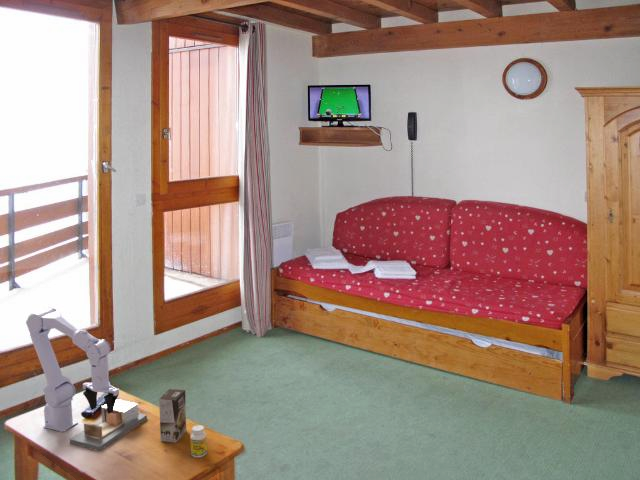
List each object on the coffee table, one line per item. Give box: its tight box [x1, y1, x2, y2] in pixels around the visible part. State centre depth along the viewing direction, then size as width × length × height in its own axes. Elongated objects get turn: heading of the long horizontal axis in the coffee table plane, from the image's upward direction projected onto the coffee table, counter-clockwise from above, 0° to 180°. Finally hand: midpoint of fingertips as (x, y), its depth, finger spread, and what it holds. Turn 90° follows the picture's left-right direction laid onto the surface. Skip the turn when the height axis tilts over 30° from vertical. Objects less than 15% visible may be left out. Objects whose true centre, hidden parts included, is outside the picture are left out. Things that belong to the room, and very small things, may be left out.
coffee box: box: [158, 388, 187, 443], centre depth 233 cm, size 9×6×16 cm
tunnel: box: [101, 398, 139, 427], centre depth 242 cm, size 10×8×6 cm
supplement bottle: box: [189, 424, 208, 458], centre depth 221 cm, size 5×5×10 cm
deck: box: [69, 412, 148, 452], centre depth 237 cm, size 13×26×2 cm, turn 158°
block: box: [106, 411, 122, 425], centre depth 240 cm, size 4×5×4 cm
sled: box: [83, 420, 122, 439], centre depth 236 cm, size 7×16×4 cm, turn 158°
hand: (102, 410), depth 233 cm, fingers open, 7 cm apart
